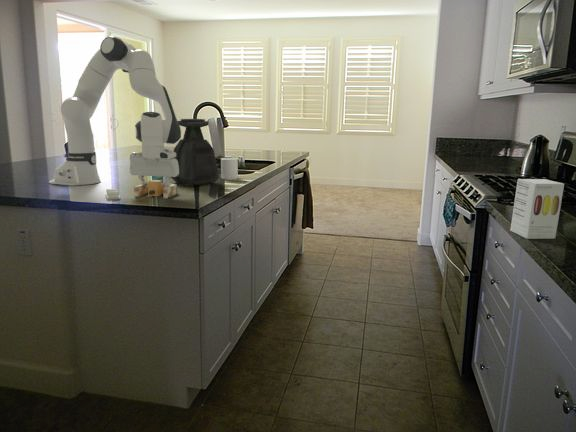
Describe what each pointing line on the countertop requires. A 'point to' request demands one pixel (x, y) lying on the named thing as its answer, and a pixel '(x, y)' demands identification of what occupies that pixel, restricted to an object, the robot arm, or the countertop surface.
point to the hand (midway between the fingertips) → (155, 186)
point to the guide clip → (112, 194)
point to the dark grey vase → (195, 156)
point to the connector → (155, 188)
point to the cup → (229, 168)
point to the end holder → (167, 191)
